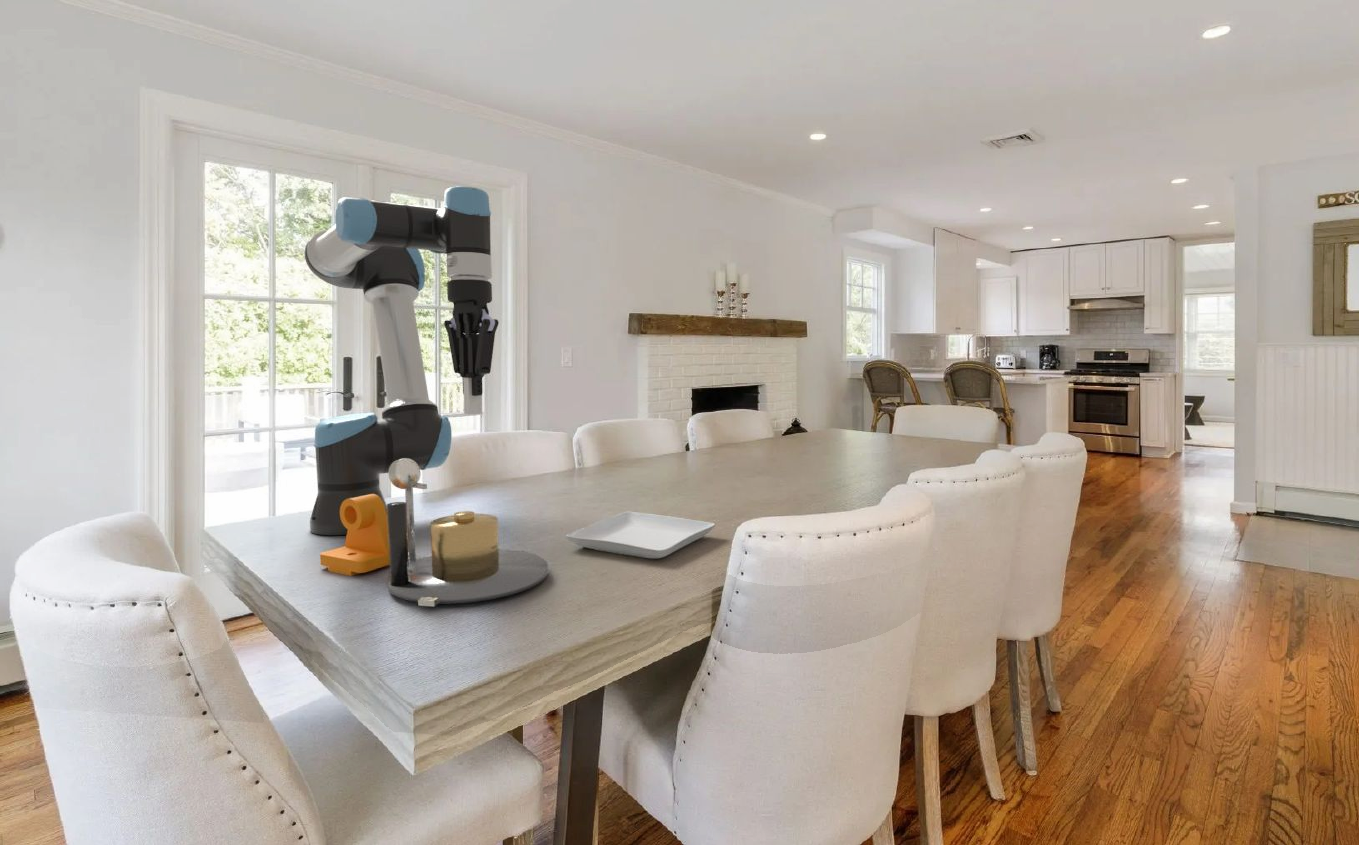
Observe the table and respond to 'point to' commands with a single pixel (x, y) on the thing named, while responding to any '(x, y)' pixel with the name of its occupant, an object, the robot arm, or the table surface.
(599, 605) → the table surface
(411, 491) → the stand
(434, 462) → the robot arm
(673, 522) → the salad plate
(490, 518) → the cover
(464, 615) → the table surface
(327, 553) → the bracket
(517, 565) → the turntable
